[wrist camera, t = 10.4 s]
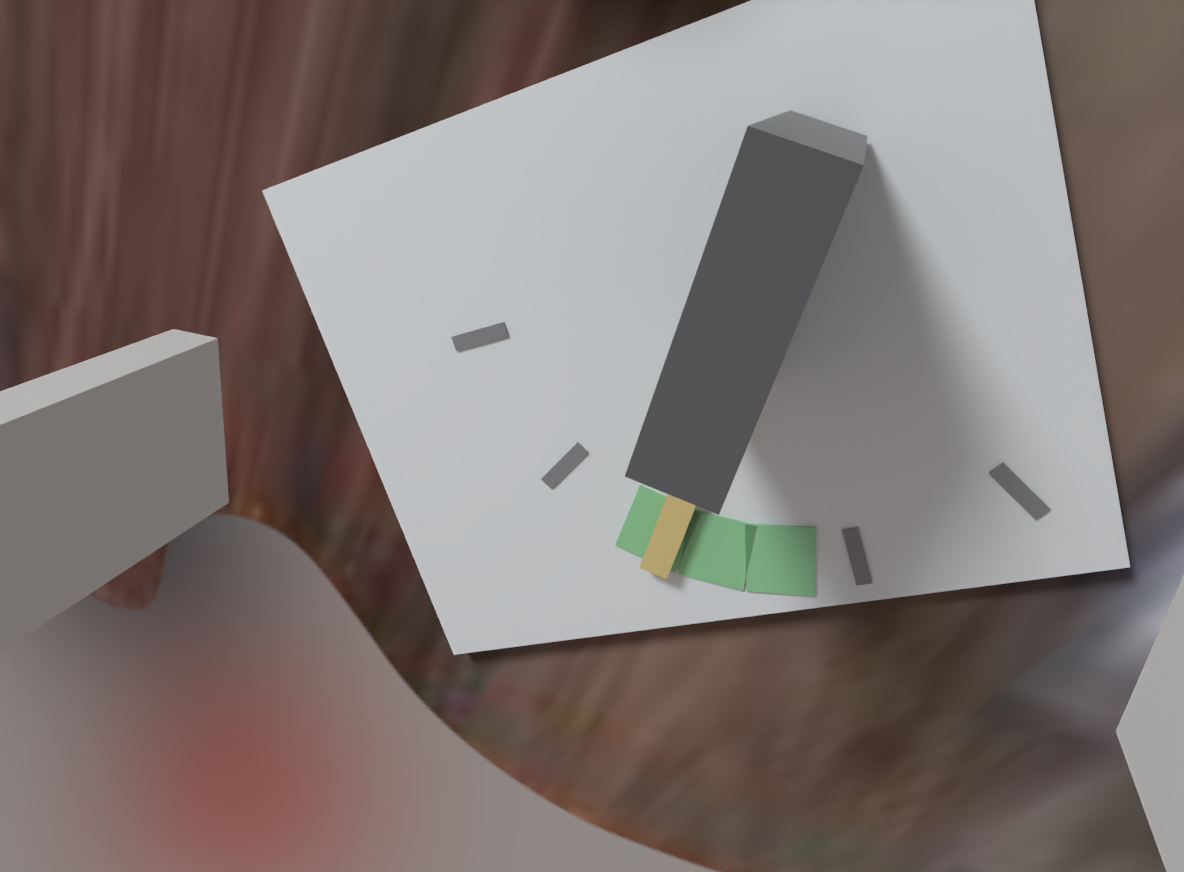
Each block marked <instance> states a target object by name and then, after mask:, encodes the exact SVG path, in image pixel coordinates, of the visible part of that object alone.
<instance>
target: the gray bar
mask: <svg viewBox="0 0 1184 872" xmlns="http://www.w3.org/2000/svg"><path fill="white" fill-rule="evenodd" d="M866 144H867V136H866V135H863V134H860V133H857V132H854V131H851V130H848V129H845V128H842V127H839V126H836V125H833V124H830V123H827V122H824V121H821V120H818V119H815V118H812V117H809V116H806V115H803V114H800V113H797V112H794V111H791V110H790V111H787V112H784V113H781V114H779V115H776V116H773V117H770V118H768V119H765V120H762V121H759V122H757V123H754V124H751V125H749V126H747V129H746V132H745V135H744V138H743V141H742V143H741V146H740V149H739V152H738V155H737V158H736V161H735V163H734V166H733V169H732V172H731V175H730V178H729V180H728V183H727V186H726V189H725V192H724V195H723V198H722V200H721V203H720V206H719V209H718V212H717V215H716V218H715V220H714V223H713V226H712V229H711V232H710V235H709V237H708V240H707V243H706V246H705V249H704V252H703V255H702V257H701V260H700V263H699V266H698V269H697V272H696V274H695V277H694V280H693V283H692V286H691V289H690V292H689V294H688V297H687V300H686V303H685V306H684V309H683V312H682V314H681V317H680V320H679V323H678V326H677V329H676V331H675V334H674V337H673V340H672V343H671V346H670V349H669V351H668V354H667V357H666V360H665V363H664V366H663V369H662V371H661V374H660V377H659V380H658V383H657V386H656V388H655V391H654V394H653V397H652V400H651V403H650V406H649V408H648V411H647V414H646V417H645V420H644V423H643V425H642V428H641V431H640V434H639V437H638V440H637V443H636V445H635V448H634V451H633V454H632V457H631V460H630V463H629V465H628V468H627V471H626V474H625V477H627V478H630V479H632V480H634V481H637V482H639V483H642V484H644V485H647V486H649V487H652V488H654V489H657V490H659V491H661V492H664V493H666V494H667V496H666V498H665V501H664V504H663V506H662V509H661V511H660V514H659V517H658V519H657V522H656V525H655V527H654V530H653V533H652V535H651V538H650V540H649V543H648V546H647V548H646V551H645V554H644V556H643V559H642V562H641V564H640V567H639V568H641V569H643V570H646V571H648V572H650V573H653V574H655V575H657V576H660V577H662V578H665V579H667V578H668V575H669V573H670V570H671V568H672V565H673V563H674V560H675V558H676V555H677V553H678V550H679V548H680V545H681V543H682V540H683V538H684V535H685V533H686V530H687V528H688V525H689V523H690V520H691V518H692V515H693V513H694V510H695V508H696V506H698V507H701V508H703V509H706V510H708V511H711V512H713V513H715V514H718V515H719V514H720V511H721V509H722V506H723V504H724V501H725V499H726V497H727V494H728V492H729V489H730V487H731V485H732V482H733V480H734V477H735V475H736V472H737V470H738V468H739V465H740V463H741V460H742V458H743V456H744V453H745V451H746V448H747V446H748V444H749V441H750V439H751V436H752V434H753V431H754V429H755V427H756V424H757V422H758V419H759V417H760V415H761V412H762V410H763V407H764V405H765V403H766V400H767V398H768V395H769V393H770V390H771V388H772V386H773V383H774V381H775V378H776V376H777V374H778V371H779V369H780V366H781V364H782V361H783V359H784V357H785V354H786V352H787V349H788V347H789V345H790V342H791V340H792V337H793V335H794V333H795V330H796V328H797V325H798V323H799V320H800V318H801V316H802V313H803V311H804V308H805V306H806V304H807V301H808V299H809V296H810V294H811V292H812V289H813V287H814V284H815V282H816V279H817V277H818V275H819V272H820V270H821V267H822V265H823V263H824V260H825V258H826V255H827V253H828V250H829V248H830V246H831V243H832V241H833V238H834V236H835V234H836V231H837V229H838V226H839V224H840V222H841V219H842V217H843V214H844V212H845V209H846V207H847V205H848V202H849V200H850V197H851V195H852V193H853V190H854V188H855V185H856V183H857V181H858V178H859V176H860V173H861V171H862V168H863V166H864V160H865V152H866Z"/></svg>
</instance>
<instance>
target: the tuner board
mask: <svg viewBox="0 0 1184 872" xmlns="http://www.w3.org/2000/svg"><path fill="white" fill-rule="evenodd" d="M790 110H791V111H794V112H797V113H800V114H803V115H806V116H809V117H812V118H815V119H818V120H821V121H824V122H827V123H830V124H833V125H836V126H839V127H842V128H845V129H848V130H851V131H854V132H857V133H860V134H863V135H866V136H867V144H866V152H865V160H864V166H863V168H862V171H861V173H860V176H859V178H858V181H857V183H856V185H855V188H854V190H853V193H852V195H851V197H850V200H849V202H848V205H847V207H846V209H845V212H844V214H843V217H842V219H841V222H840V224H839V226H838V229H837V231H836V234H835V236H834V238H833V241H832V243H831V246H830V248H829V250H828V253H827V255H826V258H825V260H824V263H823V265H822V267H821V270H820V272H819V275H818V277H817V279H816V282H815V284H814V287H813V289H812V292H811V294H810V296H809V299H808V301H807V304H806V306H805V308H804V311H803V313H802V316H801V318H800V320H799V323H798V325H797V328H796V330H795V333H794V335H793V337H792V340H791V342H790V345H789V347H788V349H787V352H786V354H785V357H784V359H783V361H782V364H781V366H780V369H779V371H778V374H777V376H776V378H775V381H774V383H773V386H772V388H771V390H770V393H769V395H768V398H767V400H766V403H765V405H764V407H763V410H762V412H761V415H760V417H759V419H758V422H757V424H756V427H755V429H754V431H753V434H752V436H751V439H750V441H749V444H748V446H747V448H746V451H745V453H744V456H743V458H742V460H741V463H740V465H739V468H738V470H737V472H736V475H735V477H734V480H733V482H732V485H731V487H730V489H729V492H728V494H727V497H726V499H725V501H724V504H723V506H722V509H721V511H720V514H719V515H718V514H715V513H713V512H711V511H708V510H706V509H703V508H701V507H698V506H696V508H695V510H694V513H693V515H692V518H691V520H690V523H689V525H688V528H687V530H686V533H685V535H684V538H683V540H682V543H681V545H680V548H679V550H678V553H677V555H676V558H675V560H674V563H673V565H672V568H671V570H670V573H669V575H668V578H667V579H665V578H662V577H660V576H657V575H655V574H653V573H650V572H648V571H646V570H643V569H641V568H639V567H640V564H641V562H642V559H643V556H644V554H645V551H646V548H647V546H648V543H649V540H650V538H651V535H652V533H653V530H654V527H655V525H656V522H657V519H658V517H659V514H660V511H661V509H662V506H663V504H664V501H665V498H666V496H667V494H666V493H664V492H661V491H659V490H657V489H654V488H652V487H649V486H647V485H644V484H642V483H639V482H637V481H634V480H632V479H630V478H627V477H625V474H626V471H627V468H628V465H629V463H630V460H631V457H632V454H633V451H634V448H635V445H636V443H637V440H638V437H639V434H640V431H641V428H642V425H643V423H644V420H645V417H646V414H647V411H648V408H649V406H650V403H651V400H652V397H653V394H654V391H655V388H656V386H657V383H658V380H659V377H660V374H661V371H662V369H663V366H664V363H665V360H666V357H667V354H668V351H669V349H670V346H671V343H672V340H673V337H674V334H675V331H676V329H677V326H678V323H679V320H680V317H681V314H682V312H683V309H684V306H685V303H686V300H687V297H688V294H689V292H690V289H691V286H692V283H693V280H694V277H695V274H696V272H697V269H698V266H699V263H700V260H701V257H702V255H703V252H704V249H705V246H706V243H707V240H708V237H709V235H710V232H711V229H712V226H713V223H714V220H715V218H716V215H717V212H718V209H719V206H720V203H721V200H722V198H723V195H724V192H725V189H726V186H727V183H728V180H729V178H730V175H731V172H732V169H733V166H734V163H735V161H736V158H737V155H738V152H739V149H740V146H741V143H742V141H743V138H744V135H745V132H746V129H747V126H749V125H751V124H754V123H757V122H759V121H762V120H765V119H768V118H770V117H773V116H776V115H779V114H781V113H784V112H787V111H790ZM263 194H264V196H265V199H266V201H267V204H268V206H269V208H270V211H271V213H272V216H273V218H274V221H275V223H276V225H277V228H278V230H279V233H280V235H281V238H282V240H283V242H284V245H285V247H286V250H287V252H288V254H289V257H290V259H291V262H292V264H293V267H294V269H295V271H296V274H297V276H298V279H299V281H300V284H301V286H302V288H303V291H304V293H305V296H306V298H307V300H308V303H309V305H310V308H311V310H312V313H313V315H314V317H315V320H316V322H317V325H318V327H319V330H320V332H321V334H322V337H323V339H324V342H325V344H326V346H327V349H328V351H329V354H330V356H331V359H332V361H333V363H334V366H335V368H336V371H337V373H338V376H339V378H340V380H341V383H342V385H343V388H344V390H345V392H346V395H347V397H348V400H349V402H350V405H351V407H352V409H353V412H354V414H355V417H356V419H357V422H358V424H359V426H360V429H361V431H362V434H363V436H364V439H365V441H366V443H367V446H368V448H369V451H370V453H371V455H372V458H373V460H374V463H375V465H376V468H377V470H378V472H379V475H380V477H381V480H382V482H383V485H384V487H385V489H386V492H387V494H388V497H389V499H390V501H391V504H392V506H393V509H394V511H395V514H396V516H397V518H398V521H399V523H400V526H401V528H402V531H403V533H404V535H405V538H406V540H407V543H408V545H409V547H410V550H411V552H412V555H413V557H414V560H415V562H416V564H417V567H418V569H419V572H420V574H421V577H422V579H423V581H424V584H425V586H426V589H427V591H428V593H429V596H430V598H431V601H432V603H433V606H434V608H435V610H436V613H437V615H438V618H439V620H440V623H441V625H442V627H443V630H444V632H445V635H446V637H447V640H448V642H449V644H450V647H451V649H452V652H453V654H454V655H456V654H463V653H471V652H479V651H487V650H494V649H502V648H510V647H517V646H525V645H533V644H541V643H548V642H556V641H564V640H572V639H579V638H587V637H595V636H603V635H610V634H618V633H626V632H634V631H641V630H649V629H657V628H665V627H672V626H680V625H688V624H695V623H703V622H711V621H719V620H726V619H734V618H742V617H750V616H757V615H765V614H773V613H781V612H788V611H796V610H804V609H812V608H819V607H827V606H835V605H843V604H850V603H858V602H866V601H873V600H881V599H889V598H897V597H904V596H912V595H920V594H928V593H935V592H943V591H951V590H959V589H966V588H974V587H982V586H990V585H997V584H1005V583H1013V582H1021V581H1028V580H1036V579H1044V578H1052V577H1059V576H1067V575H1075V574H1082V573H1090V572H1098V571H1106V570H1113V569H1121V568H1129V567H1130V563H1129V557H1128V551H1127V545H1126V539H1125V533H1124V527H1123V521H1122V515H1121V509H1120V504H1119V498H1118V492H1117V486H1116V480H1115V474H1114V468H1113V462H1112V456H1111V450H1110V444H1109V439H1108V433H1107V427H1106V421H1105V415H1104V409H1103V403H1102V397H1101V391H1100V385H1099V380H1098V374H1097V368H1096V362H1095V356H1094V350H1093V344H1092V338H1091V332H1090V326H1089V320H1088V315H1087V309H1086V303H1085V297H1084V291H1083V285H1082V279H1081V273H1080V267H1079V261H1078V255H1077V250H1076V244H1075V238H1074V232H1073V226H1072V220H1071V214H1070V208H1069V202H1068V196H1067V191H1066V185H1065V179H1064V173H1063V167H1062V161H1061V155H1060V149H1059V143H1058V137H1057V131H1056V126H1055V120H1054V114H1053V108H1052V102H1051V96H1050V90H1049V84H1048V78H1047V72H1046V67H1045V61H1044V55H1043V49H1042V43H1041V37H1040V31H1039V25H1038V19H1037V13H1036V7H1035V2H1034V0H751V1H748V2H746V3H743V4H741V5H738V6H735V7H733V8H730V9H728V10H725V11H723V12H720V13H717V14H715V15H712V16H710V17H707V18H705V19H702V20H699V21H697V22H694V23H692V24H689V25H687V26H684V27H681V28H679V29H676V30H674V31H671V32H669V33H666V34H663V35H661V36H658V37H656V38H653V39H651V40H648V41H645V42H643V43H640V44H638V45H635V46H633V47H630V48H627V49H625V50H622V51H620V52H617V53H615V54H612V55H610V56H607V57H604V58H602V59H599V60H597V61H594V62H592V63H589V64H586V65H584V66H581V67H579V68H576V69H574V70H571V71H568V72H566V73H563V74H561V75H558V76H556V77H553V78H550V79H548V80H545V81H543V82H540V83H538V84H535V85H532V86H530V87H527V88H525V89H522V90H520V91H517V92H514V93H512V94H509V95H507V96H504V97H502V98H499V99H496V100H494V101H491V102H489V103H486V104H484V105H481V106H478V107H476V108H473V109H471V110H468V111H466V112H463V113H460V114H458V115H455V116H453V117H450V118H448V119H445V120H442V121H440V122H437V123H435V124H432V125H430V126H427V127H425V128H422V129H419V130H417V131H414V132H412V133H409V134H407V135H404V136H401V137H399V138H396V139H394V140H391V141H389V142H386V143H383V144H381V145H378V146H376V147H373V148H371V149H368V150H365V151H363V152H360V153H358V154H355V155H353V156H350V157H347V158H345V159H342V160H340V161H337V162H335V163H332V164H329V165H327V166H324V167H322V168H319V169H317V170H314V171H311V172H309V173H306V174H304V175H301V176H299V177H296V178H293V179H291V180H288V181H286V182H283V183H281V184H278V185H275V186H273V187H270V188H268V189H265V190H263Z"/></svg>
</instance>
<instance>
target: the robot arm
mask: <svg viewBox="0 0 1184 872" xmlns="http://www.w3.org/2000/svg"><path fill="white" fill-rule="evenodd" d="M227 503H229V499H228V484H227V469H226V455H225V440H224V426H223V411H222V396H221V382H220V367H219V353H218V338H213V337H209V336H204V335H199V334H194V333H190V332H185V331H180V330H176V329H172V330H170V331H167V332H164V333H161V334H159V335H156V336H153V337H150V338H148V339H145V340H142V341H139V342H136V343H134V344H131V345H128V346H125V347H123V348H120V349H117V350H114V351H111V352H109V353H106V354H103V355H100V356H98V357H95V358H92V359H89V360H86V361H84V362H81V363H78V364H75V365H73V366H70V367H67V368H64V369H61V370H59V371H56V372H53V373H50V374H48V375H45V376H42V377H39V378H37V379H34V380H31V381H28V382H25V383H23V384H20V385H17V386H14V387H12V388H9V389H6V390H3V391H0V653H1V652H2V651H4V650H5V649H7V648H8V647H10V646H11V645H12V644H14V643H16V642H17V641H19V640H20V639H22V638H23V637H25V636H26V635H28V634H29V633H31V632H32V631H34V630H36V629H37V628H39V627H40V626H41V625H43V624H45V623H46V622H48V621H49V620H51V619H52V618H54V617H55V616H57V615H58V614H60V613H61V612H63V611H64V610H66V609H67V608H69V607H70V606H72V605H73V604H75V603H77V602H78V601H80V600H81V599H83V598H84V597H86V596H87V595H89V594H90V593H92V592H93V591H95V590H96V589H98V588H99V587H101V586H102V585H104V584H105V583H107V582H109V581H110V580H112V579H113V578H115V577H116V576H118V575H119V574H121V573H122V572H124V571H125V570H127V569H128V568H130V567H131V566H133V565H134V564H136V563H137V562H139V561H140V560H142V559H143V558H145V557H147V556H148V555H150V554H151V553H153V552H154V551H156V550H157V549H159V548H160V547H162V546H163V545H165V544H166V543H168V542H169V541H171V540H172V539H174V538H175V537H177V536H178V535H180V534H181V533H183V532H184V531H186V530H188V529H189V528H191V527H192V526H194V525H195V524H197V523H198V522H199V521H201V520H203V519H204V518H206V517H207V516H209V515H210V514H212V513H213V512H215V511H216V510H218V509H220V508H221V507H223V506H224V505H226V504H227ZM1116 733H1117V736H1118V739H1119V741H1120V744H1121V747H1122V750H1123V752H1124V755H1125V758H1126V761H1127V764H1128V766H1129V769H1130V772H1131V775H1132V777H1133V780H1134V783H1135V786H1136V789H1137V791H1138V794H1139V797H1140V800H1141V802H1142V805H1143V808H1144V811H1145V813H1146V816H1147V819H1148V822H1149V825H1150V827H1151V830H1152V833H1153V836H1154V838H1155V841H1156V844H1157V847H1158V849H1159V852H1160V855H1161V858H1162V861H1163V863H1164V866H1165V869H1166V872H1184V576H1183V578H1182V580H1181V582H1180V585H1179V587H1178V589H1177V592H1176V594H1175V596H1174V599H1173V601H1172V603H1171V605H1170V608H1169V610H1168V612H1167V615H1166V617H1165V619H1164V622H1163V624H1162V626H1161V628H1160V631H1159V633H1158V635H1157V638H1156V640H1155V642H1154V645H1153V647H1152V649H1151V651H1150V654H1149V656H1148V658H1147V661H1146V663H1145V665H1144V668H1143V670H1142V672H1141V674H1140V677H1139V679H1138V681H1137V684H1136V686H1135V688H1134V691H1133V693H1132V695H1131V697H1130V700H1129V702H1128V704H1127V707H1126V709H1125V711H1124V714H1123V716H1122V718H1121V721H1120V723H1119V725H1118V727H1117V730H1116Z"/></svg>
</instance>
